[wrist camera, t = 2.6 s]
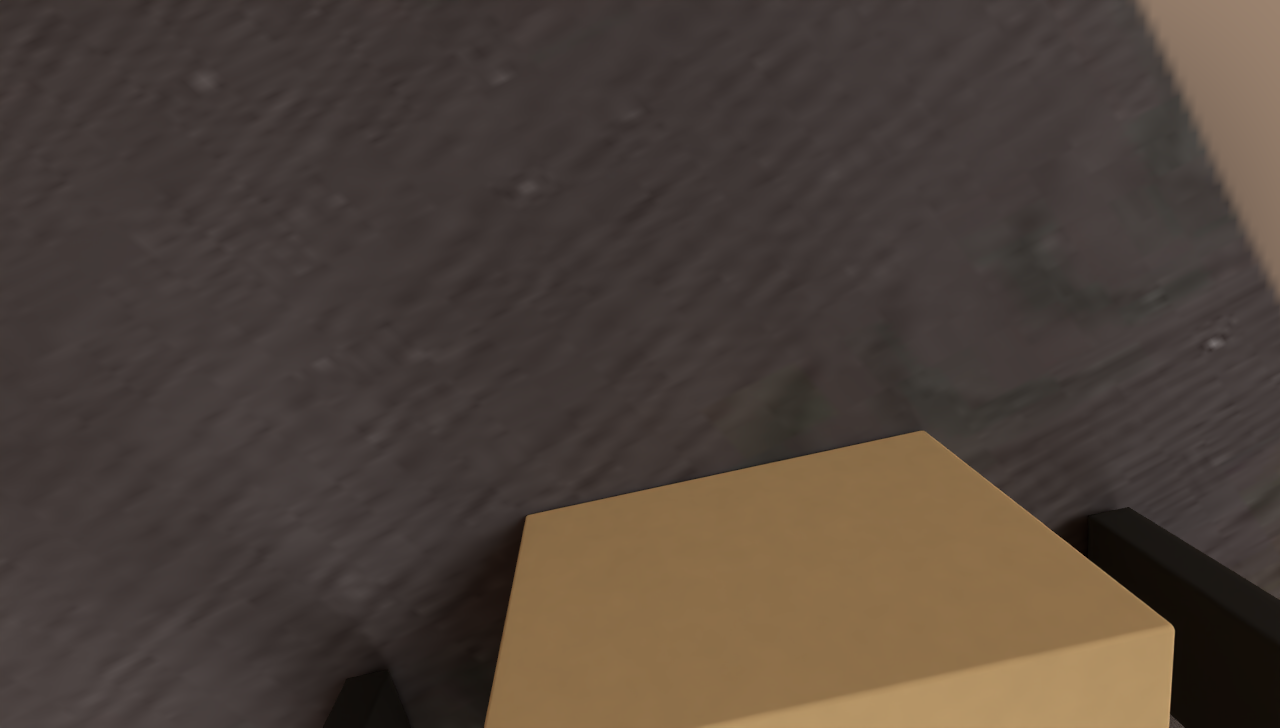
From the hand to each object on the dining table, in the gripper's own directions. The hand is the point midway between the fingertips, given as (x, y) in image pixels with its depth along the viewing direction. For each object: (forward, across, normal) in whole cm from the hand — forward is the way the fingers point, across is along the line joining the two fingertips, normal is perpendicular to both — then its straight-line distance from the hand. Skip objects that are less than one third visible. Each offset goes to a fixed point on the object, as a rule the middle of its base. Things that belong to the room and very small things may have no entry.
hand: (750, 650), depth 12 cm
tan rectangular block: (0, 0, 0) cm, 0 cm away
